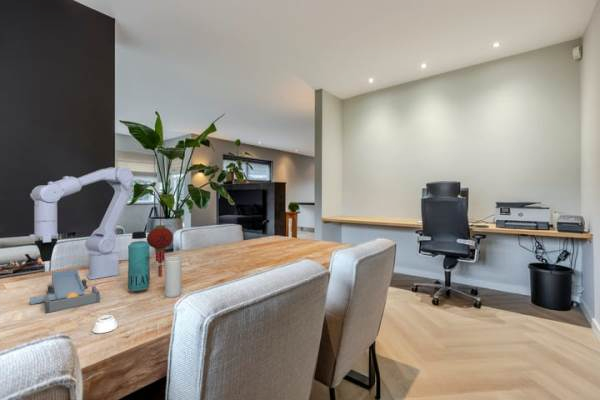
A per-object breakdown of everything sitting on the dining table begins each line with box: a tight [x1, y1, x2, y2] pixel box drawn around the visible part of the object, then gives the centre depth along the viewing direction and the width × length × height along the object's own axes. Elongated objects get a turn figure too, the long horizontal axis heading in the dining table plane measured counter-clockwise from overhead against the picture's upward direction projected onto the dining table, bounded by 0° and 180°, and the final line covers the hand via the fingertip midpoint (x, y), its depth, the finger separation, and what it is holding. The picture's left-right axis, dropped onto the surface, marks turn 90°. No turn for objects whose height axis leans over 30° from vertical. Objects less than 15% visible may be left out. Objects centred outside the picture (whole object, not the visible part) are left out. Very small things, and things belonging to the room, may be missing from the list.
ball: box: [65, 292, 80, 299], centre depth 82 cm, size 3×3×3 cm
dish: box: [43, 285, 101, 314], centre depth 83 cm, size 12×9×3 cm
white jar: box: [91, 314, 119, 334], centre depth 67 cm, size 5×3×5 cm
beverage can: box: [164, 256, 182, 299], centre depth 90 cm, size 5×5×12 cm
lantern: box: [146, 200, 174, 278], centre depth 110 cm, size 10×10×30 cm
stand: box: [45, 278, 89, 295], centre depth 93 cm, size 10×4×3 cm, turn 134°
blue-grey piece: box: [29, 268, 86, 305], centre depth 91 cm, size 13×18×3 cm
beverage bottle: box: [127, 231, 151, 292], centre depth 93 cm, size 6×7×20 cm
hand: (46, 261), depth 95 cm, fingers closed
